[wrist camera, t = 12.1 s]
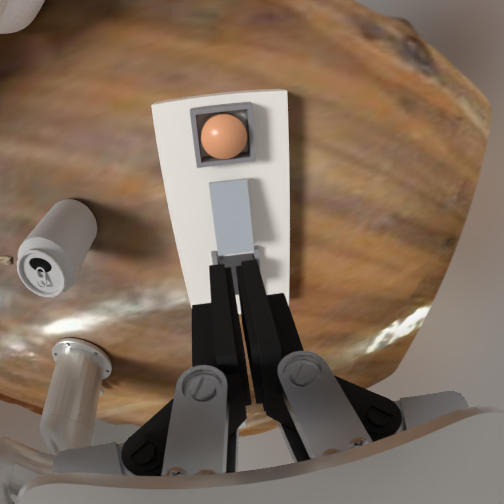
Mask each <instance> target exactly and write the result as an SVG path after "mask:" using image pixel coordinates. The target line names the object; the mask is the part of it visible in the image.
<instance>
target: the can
mask: <svg viewBox="0 0 504 504" xmlns="http://www.w3.org/2000/svg"><path fill="white" fill-rule="evenodd" d="M96 234H97V223H96V219H95V217H94V215H93V213H92V212H91V211H90V209H89V208H88V207H87V206H86V205H84V204H83V203H81V202H79V201H76V200H73V199H64V200H61V201H59V202H57V203H56V204H55V205H54V206H53V207H52V208H51V209H50V210H49V211H48V213H47V214H46V215H45V216H44V217H43V218H42V220H41V221H40V222H39V223H38V224H37V226H36V227H35V228H34V229H33V231H32V232H31V233H30V234H29V236H28V237H27V238H26V239H25V241H24V242H23V243H22V245H21V246H20V248H19V252H18V262H17V271H18V274H19V276H20V279H21V280H22V282H23V283H24V284H25V286H26V287H27V288H28V289H30V290H31V291H32V292H34V293H35V294H37V295H40V296H43V297H51V298H52V297H56V296H58V295H60V294H61V293H62V292H65V291H66V290H68V289H69V288H70V287H71V286H72V284H73V282H74V279H75V277H76V275H77V273H78V271H79V269H80V267H81V265H82V263H83V261H84V259H85V257H86V255H87V253H88V251H89V249H90V247H91V245H92V243H93V241H94V239H95V237H96Z"/></svg>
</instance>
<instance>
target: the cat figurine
mask: <svg viewBox="0 0 504 504" xmlns="http://www.w3.org/2000/svg"><path fill="white" fill-rule="evenodd" d="M44 1H45V0H0V34H8V33H14V32H18V31H20V30H22V29H24V28H25V27H27V26H28V25H29V24H30V23H31V22H32V21H33V20H34V18H35V17H36V15H37V14H38V12H39V10H40V9H41V7H42V5H43V3H44Z"/></svg>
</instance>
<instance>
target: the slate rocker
mask: <svg viewBox="0 0 504 504" xmlns="http://www.w3.org/2000/svg"><path fill="white" fill-rule="evenodd" d="M209 188H210V197H211V205H212V213H213V220H214V228H215V236H216V243H217V250H218V256H221V255H229V254H237V253H244V252H252V251H254V245H253V234H252V224H251V213H250V203H249V193H248V183H247V179H246V178H243V179H234V180H225V181H217V182H209Z"/></svg>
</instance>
